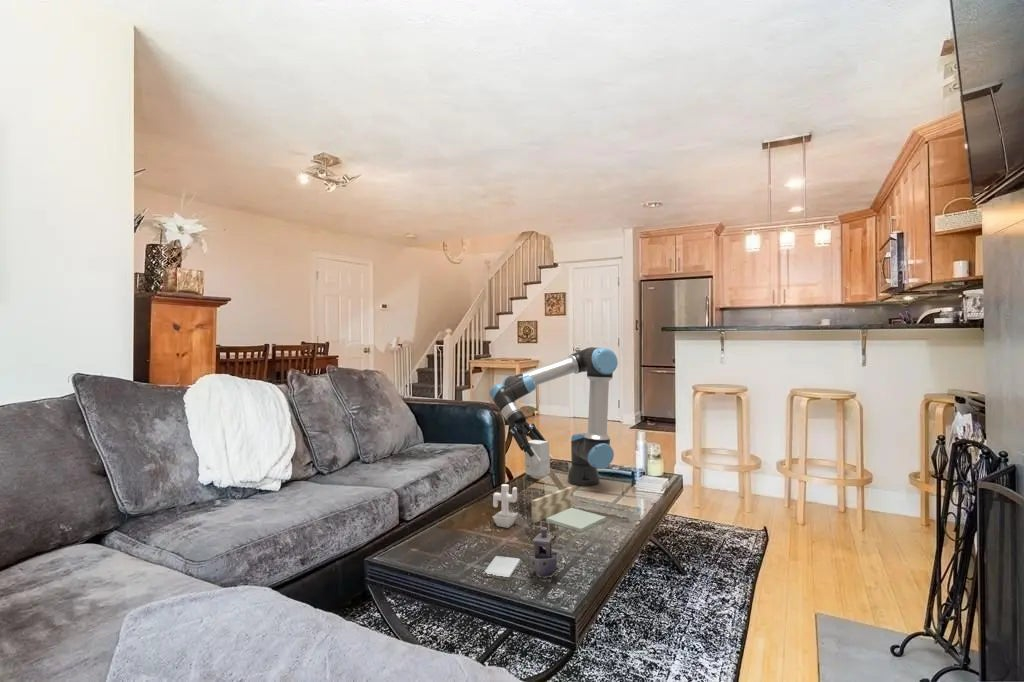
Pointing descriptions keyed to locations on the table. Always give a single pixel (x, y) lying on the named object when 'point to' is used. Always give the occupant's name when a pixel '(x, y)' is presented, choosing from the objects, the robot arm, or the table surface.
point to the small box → (543, 454)
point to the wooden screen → (552, 504)
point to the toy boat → (544, 555)
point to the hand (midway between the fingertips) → (544, 460)
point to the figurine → (505, 506)
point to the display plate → (576, 519)
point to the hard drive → (502, 566)
